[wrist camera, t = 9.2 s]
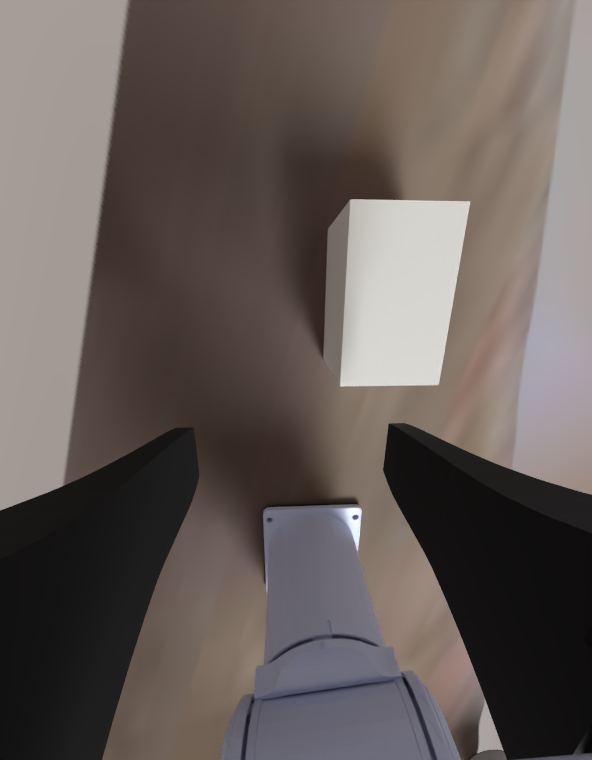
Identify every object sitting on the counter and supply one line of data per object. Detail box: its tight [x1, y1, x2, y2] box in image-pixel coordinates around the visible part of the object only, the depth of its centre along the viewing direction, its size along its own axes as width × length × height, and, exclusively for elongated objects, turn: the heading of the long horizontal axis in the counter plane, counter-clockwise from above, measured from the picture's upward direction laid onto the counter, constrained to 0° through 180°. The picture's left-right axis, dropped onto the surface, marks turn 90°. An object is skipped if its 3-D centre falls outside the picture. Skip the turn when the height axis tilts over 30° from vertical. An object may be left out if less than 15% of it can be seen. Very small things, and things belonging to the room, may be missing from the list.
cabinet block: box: [323, 199, 470, 386], centre depth 15 cm, size 8×5×6 cm, turn 0°
